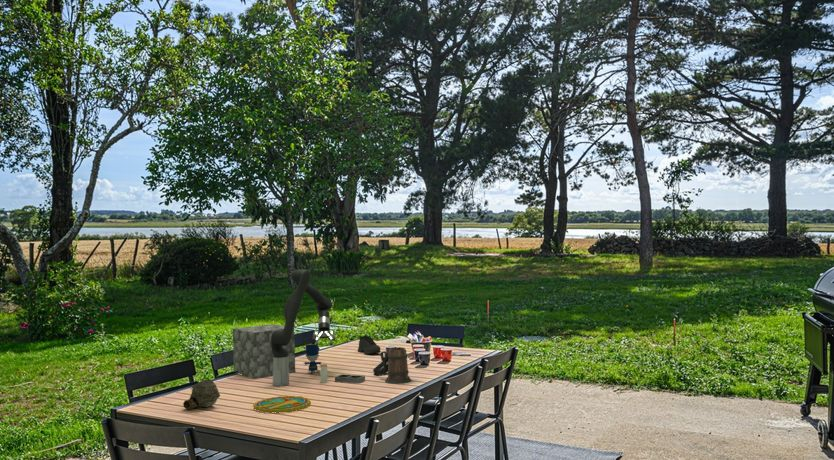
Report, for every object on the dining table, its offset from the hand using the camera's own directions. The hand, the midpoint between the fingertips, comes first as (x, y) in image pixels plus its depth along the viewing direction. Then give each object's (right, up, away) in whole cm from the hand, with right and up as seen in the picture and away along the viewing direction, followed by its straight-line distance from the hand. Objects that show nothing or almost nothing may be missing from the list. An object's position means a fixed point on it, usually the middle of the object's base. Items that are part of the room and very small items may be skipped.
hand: (324, 345), depth 421 cm
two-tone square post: (+2, -21, -12) cm, 24 cm away
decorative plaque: (-13, -21, -69) cm, 73 cm away
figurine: (-10, -22, +16) cm, 29 cm away
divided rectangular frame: (+18, -20, -11) cm, 29 cm away
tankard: (+45, -20, -13) cm, 51 cm away
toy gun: (+42, -20, +10) cm, 47 cm away
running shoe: (+22, -22, +88) cm, 94 cm away
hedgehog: (-58, -22, -68) cm, 92 cm away
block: (-44, -23, +24) cm, 55 cm away
